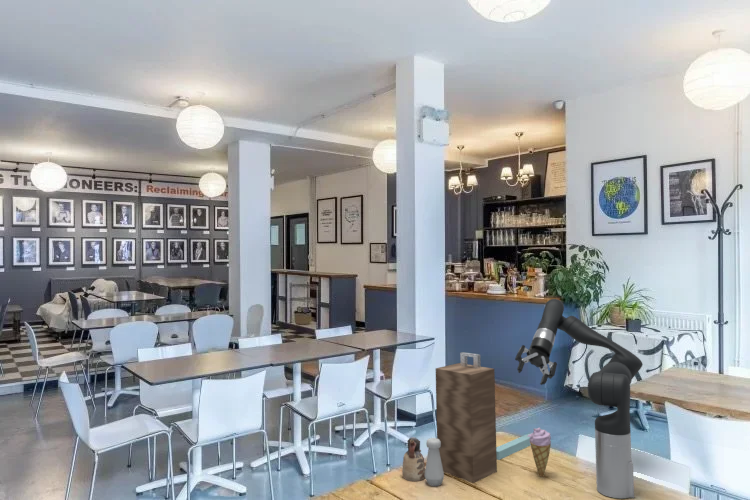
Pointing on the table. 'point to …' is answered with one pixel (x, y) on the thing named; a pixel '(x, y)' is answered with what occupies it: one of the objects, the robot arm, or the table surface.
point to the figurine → (413, 462)
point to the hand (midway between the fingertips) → (530, 377)
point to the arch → (475, 358)
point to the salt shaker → (434, 463)
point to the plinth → (466, 421)
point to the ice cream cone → (540, 449)
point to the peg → (512, 446)
